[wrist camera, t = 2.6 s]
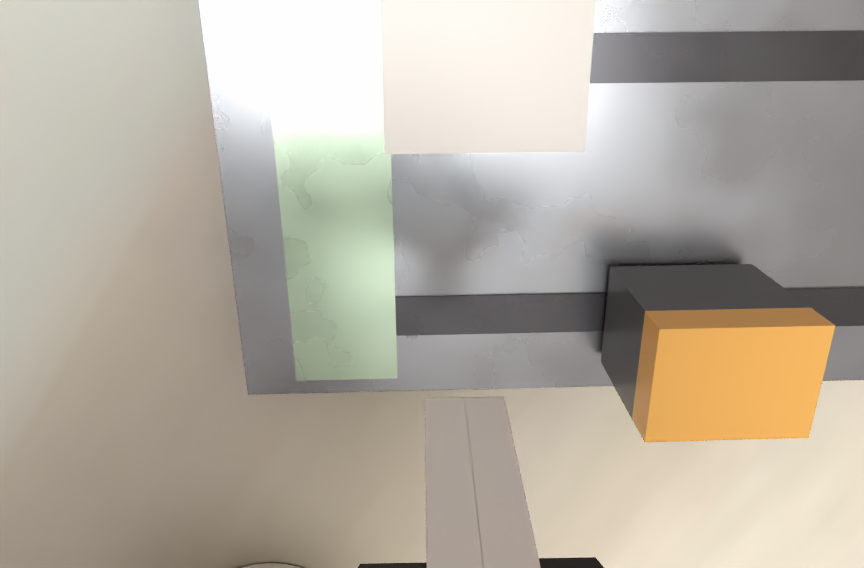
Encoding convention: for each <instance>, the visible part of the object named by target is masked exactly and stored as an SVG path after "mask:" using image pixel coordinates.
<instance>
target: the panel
mask: <svg viewBox="0 0 864 568" xmlns="http://www.w3.org/2000/svg"><path fill="white" fill-rule="evenodd" d="M198 2H199V9H200V17H201V25H202V33H203V41H204V49H205V57H206V65H207V73H208V81H209V89H210V97H211V104H212V112H213V120H214V128H215V136H216V144H217V152H218V160H219V168H220V176H221V184H222V192H223V200H224V207H225V215H226V223H227V231H228V239H229V247H230V255H231V263H232V271H233V279H234V287H235V295H236V303H237V310H238V318H239V326H240V334H241V342H242V350H243V358H244V366H245V374H246V382H247V390H248V394H289V393H331V392H373V391H415V390H457V389H499V388H541V387H583V386H614V385H613V383H612V382H611V380H610V378H609V376H608V374H607V372H606V371H605V369H604V367H603V365H602V363H601V354H602V344H603V334H604V323H605V313H606V303H607V292H608V282H609V272H610V267H617V266H670V265H723V264H752V265H754V266H755V267H757V268H758V269H759V270H761V271H762V272H763V273H765V274H766V275H767V276H769V277H770V278H772V279H773V280H774V281H776V282H777V283H778V284H780V285H781V286H782V287H784V288H785V289H786V290H788V291H789V292H791V293H792V294H793V295H795V296H796V297H797V298H799V299H800V300H801V301H803V302H804V303H805V304H807V305H808V306H810V307H811V308H812V309H814V310H815V311H816V312H818V313H819V314H820V315H822V316H823V317H824V318H826V319H827V320H829V321H830V322H831V323H833V324H834V325H835V330H834V334H833V338H832V342H831V346H830V350H829V355H828V359H827V363H826V367H825V371H824V376H823V380H822V381H836V380H864V0H596V8H595V21H594V34H593V47H592V60H591V73H590V86H589V99H588V112H587V125H586V138H585V151H584V152H518V153H447V154H385V148H384V118H383V88H382V59H381V29H380V0H198Z"/></svg>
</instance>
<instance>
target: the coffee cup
mask: <svg viewBox="0 0 864 568" xmlns="http://www.w3.org/2000/svg"><path fill="white" fill-rule="evenodd" d="M242 568H301V567H297V566H293V565H288V564H278V563H264V564H254V565H250V566H246V567H242Z"/></svg>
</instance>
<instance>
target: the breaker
mask: <svg viewBox="0 0 864 568" xmlns="http://www.w3.org/2000/svg"><path fill="white" fill-rule="evenodd" d="M595 8H596V0H380V29H381V59H382V88H383V118H384V148H385V154H447V153H518V152H584V151H585V138H586V125H587V112H588V99H589V86H590V73H591V60H592V47H593V34H594V21H595Z"/></svg>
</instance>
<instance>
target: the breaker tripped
mask: <svg viewBox="0 0 864 568" xmlns="http://www.w3.org/2000/svg"><path fill="white" fill-rule="evenodd" d="M834 330H835V325H834V324H833V323H831V322H830V321H829V320H827V319H826V318H824V317H823V316H822V315H820V314H819V313H818V312H816V311H815V310H814V309H812V308H811V307H810V306H808V305H807V304H805V303H804V302H803V301H801V300H800V299H799V298H797V297H796V296H795V295H793V294H792V293H791V292H789V291H788V290H786V289H785V288H784V287H782V286H781V285H780V284H778V283H777V282H776V281H774V280H773V279H772V278H770V277H769V276H767V275H766V274H765V273H763V272H762V271H761V270H759V269H758V268H757V267H755V266H754V265H752V264H723V265H670V266H617V267H610V272H609V282H608V292H607V303H606V313H605V323H604V334H603V344H602V354H601V363H602V365H603V367H604V369H605V371H606V372H607V374H608V376H609V378H610V380H611V382H612V383H613V385H614V387H615V389H616V391H617V392H618V394H619V396H620V398H621V400H622V402H623V403H624V405H625V407H626V409H627V411H628V412H629V414H630V416H631V418H632V420H633V422H634V423H635V425H636V427H637V429H638V431H639V432H640V434H641V436H642V438H643V440H644V442H666V441H704V440H743V439H781V438H809V434H810V430H811V426H812V422H813V417H814V413H815V409H816V405H817V401H818V397H819V392H820V388H821V384H822V380H823V376H824V371H825V367H826V363H827V359H828V355H829V350H830V346H831V342H832V338H833V334H834Z"/></svg>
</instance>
